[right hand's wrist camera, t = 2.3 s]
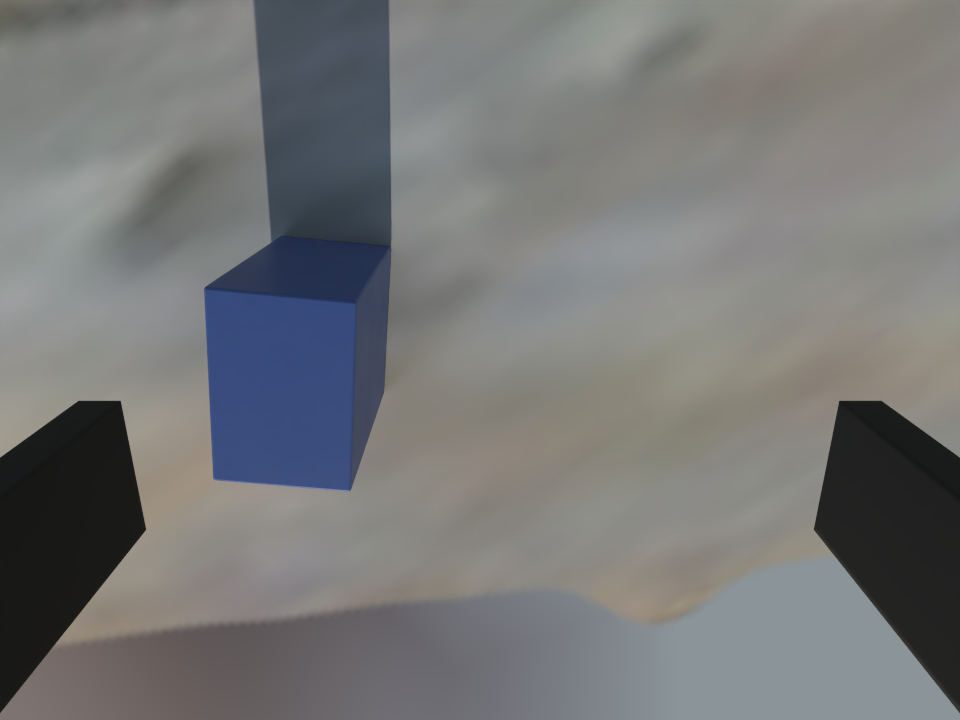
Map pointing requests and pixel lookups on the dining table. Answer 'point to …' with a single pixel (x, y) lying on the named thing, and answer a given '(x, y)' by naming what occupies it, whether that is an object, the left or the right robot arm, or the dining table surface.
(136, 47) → the dining table surface
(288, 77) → the dining table surface
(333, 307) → the block
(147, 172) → the dining table surface
